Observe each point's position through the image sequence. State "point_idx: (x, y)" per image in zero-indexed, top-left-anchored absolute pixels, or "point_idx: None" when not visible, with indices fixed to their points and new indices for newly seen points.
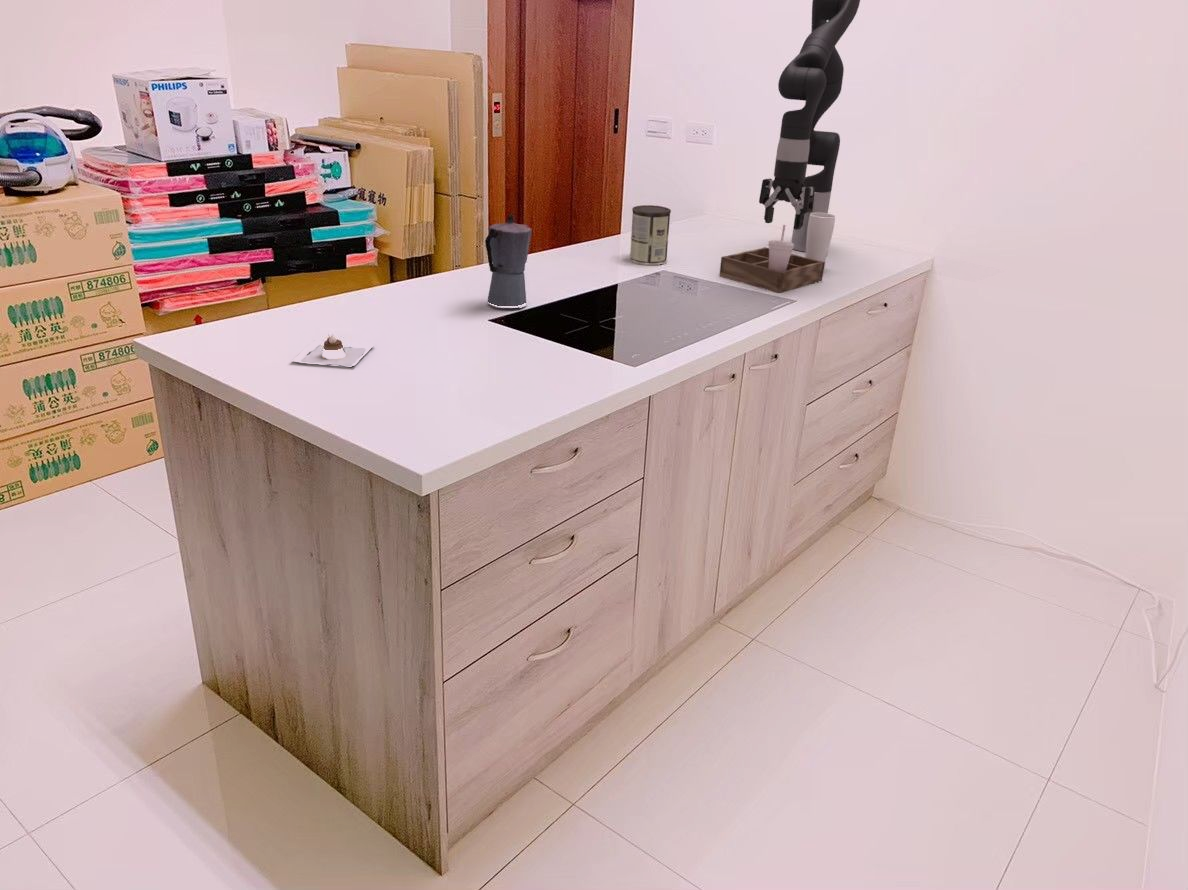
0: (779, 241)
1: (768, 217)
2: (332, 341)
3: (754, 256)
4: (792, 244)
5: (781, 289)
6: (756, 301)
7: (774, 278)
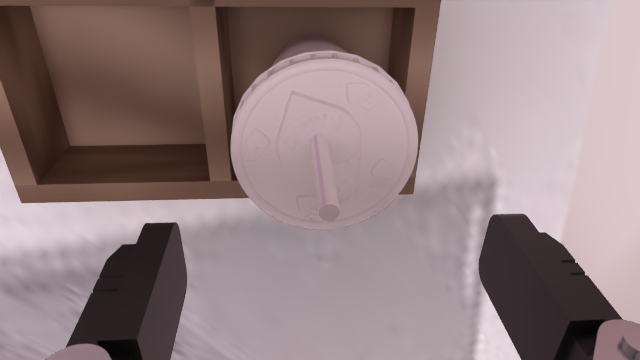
0: (297, 142)
1: (177, 319)
2: None
3: (56, 3)
4: (396, 106)
5: None
6: (392, 279)
7: None
